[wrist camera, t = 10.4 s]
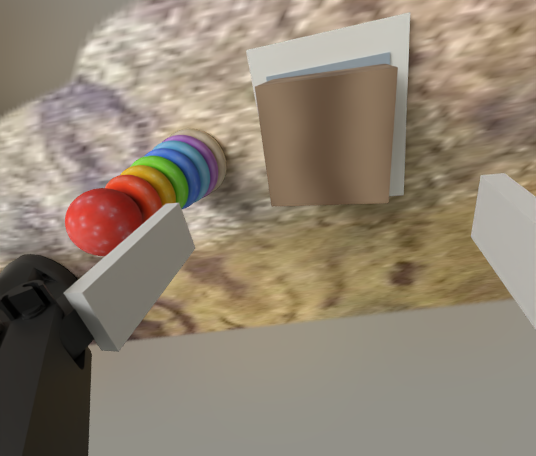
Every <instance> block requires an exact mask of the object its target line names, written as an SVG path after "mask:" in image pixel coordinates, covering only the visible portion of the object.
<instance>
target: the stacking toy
mask: <svg viewBox="0 0 536 456" xmlns="http://www.w3.org/2000/svg"><path fill="white" fill-rule="evenodd" d="M226 168H227V166H226V158H225V155H224V153H223V150H222V148H221V147H220V145H219V144H218V142H217V141H216V140H215V139H214V138H213V137H211V136H210V135H209V134H207V133H205V132H203V131H201V130H198V129H191V128H187V129H182V130H179V131H177V132H175V133H173V134H172V135H171V136H170V137H169V138H167V139H165V140H164V141H163V142H162V143H160V144H158V145H157V146H156V147H155V148H154V149H153V150H152V151H150V152H149V153H147V154H146V155H145V156H144V157H142V158H140V159H138V160H137V161H135V162H134V163H133V164H132V165H131V167H129V168H127V169H126V170H124V171H123V172H122V173H121V174H120V176H117V177H115V178H113V179H111V180H110V181H109V182H108V183H107V185H106V187H105V188H99V189H93V190H90V191H87V192H85V193H83V194H81V195H80V196H78V197H77V198H76V199H75V200H74V201H73V202H72V203H71V204H70V206H69V207H68V210H67V212H66V217H65V226H66V231H67V233H68V235H69V237H70V239H71V240H72V242H73V243H74V244H75V245H76V246H77V247H79V248H80V249H81V250H83V251H85V252H87V253H90V254H93V255H98V256H106V255H107V254H109V253H110V252H111V251H112V250H113V249H114V248H116V247H117V246H118V245H119V244H120V243H121V242H122V241H124V240H125V239H126V238H127V237H128V236H129V235H130V234H132V233H133V232H134V231H135V230H136V229H137V228H139V227H140V226H141V225H142V224H143V223H144V222H145V221H147V220H148V219H149V218H150V217H151V216H152V215H154V214H155V213H156V212H157V211H158V210H159V209H160V208H162V207H163V206H164V205H165V204H169V203H179V204H180V207H181V209H184V208H187V207H189V206H190V205H192V204H193V203H194V202H197V201H198V200H200V199H201V198H204V197H205V196H207V195H208V194H210V193H211V192H213V191H215V190H216V189H217V188H218V187H219V186H220V185H221V184H222V182H223V180H224V178H225V175H226Z"/></svg>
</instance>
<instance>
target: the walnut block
mask: <svg viewBox="0 0 536 456" xmlns="http://www.w3.org/2000/svg"><path fill="white" fill-rule="evenodd" d="M397 74H398V67H395V66H392V65H389V64H378V65H371V66H364V67H357V68H350V69H343V70H335V71H328V72H321V73H314V74H307V75H300V76H292V77H285V78H278V79H272V80H270V81H267V82H265V83H262V84H260V85H258V86H255V93H256V100H257V107H258V114H259V121H260V128H261V135H262V142H263V149H264V156H265V163H266V170H267V177H268V184H269V191H270V198H271V205H272V206H303V205H338V204H372V203H389V190H390V175H391V161H392V146H393V132H394V117H395V103H396V88H397Z"/></svg>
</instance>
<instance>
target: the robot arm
mask: <svg viewBox="0 0 536 456" xmlns="http://www.w3.org/2000/svg"><path fill="white" fill-rule="evenodd" d="M471 238H472V239H473V240H474V242H475V243H476V245H477V246H478V248H479V249H480V250H481V252H482V253H483V255H484V256H485V258H486V259H487V261H488V262H489V263H490V265H491V266H492V268H493V269H494V271H495V272H496V273H497V275H498V276H499V278H500V279H501V281H502V282H503V284H504V285H505V286H506V288H507V289H508V291H509V292H510V294H511V295H512V296H513V298H514V299H515V301H516V302H517V304H518V305H519V307H520V308H521V309H522V311H523V312H524V314H525V315H526V316H527V318H528V319H529V321H530V322H531V324H532V325H533V327H534V328H535V329H536V197H535V196H534V195H533V194H531V193H530V192H529V191H527V190H526V189H525V188H523V187H522V186H521V185H519V184H518V183H517V182H515V181H514V180H513V179H511V178H510V177H509V176H507V175H506V174H505V173H501V174H490V175H481V177H480V183H479V189H478V196H477V202H476V208H475V214H474V220H473V227H472V233H471ZM194 249H195V246H194V243H193V240H192V237H191V234H190V232H189V229H188V226H187V223H186V221H185V218H184V215H183V212H182V209H181V207H180V204H179V203H169V204H165V205H164V206H163V207H162V208H160V209H159V210H158V211H157V212H156V213H155V214H154V215H152V216H151V217H150V218H149V219H148V220H147V221H145V222H144V223H143V224H142V225H141V226H140V227H139V228H137V229H136V230H135V231H134V232H133V233H132V234H130V235H129V236H128V237H127V238H126V239H125V240H124V241H122V242H121V243H120V244H119V245H118V246H117V247H116V248H114V249H113V250H112V251H111V252H110V253H109V254H107V255H106V256H105V257H104V258H103V259H102V260H101V261H99V262H98V263H97V264H96V265H95V266H94V267H92V268H91V269H90V270H89V271H88V272H87V273H86V274H84V275H83V276H82V277H81V278H80V279H79V280H77V279H76V278H75V277H74V276H73V275H72V274H71V273H70V272H69V271H68V270H66V269H65V268H64V267H62V266H61V265H59V264H58V263H56V262H54V261H52V260H50V259H48V258H45V257H42V256H38V255H31V254H28V255H23V256H20V257H19V258H17V259H16V260H14V261H12V262H11V263H9V264H8V265H7V266H6V267H5V268H4V269H3V271H2V272H1V273H0V456H88V443H89V442H88V441H89V416H90V387H91V386H90V385H91V359H92V358H91V357H92V354H91V351H90V349H89V348H88V345H89V344H90V343H91V342H92V340H93V339H94V340H95V341H96V343H97V344H98V346H99V347H100V349H101V350H104V351H119V350H120V349H121V347H122V346H123V345H124V344H125V342H126V341H127V340H128V338H129V337H130V336H131V334H132V333H133V332H134V330H135V329H136V328H137V326H138V325H139V323H140V322H141V321H142V319H143V318H144V317H145V315H146V314H147V313H148V311H149V310H150V309H151V307H152V306H153V305H154V303H155V302H156V301H157V299H158V298H159V297H160V295H161V294H162V293H163V291H164V290H165V288H166V287H167V286H168V284H169V283H170V282H171V280H172V279H173V278H174V276H175V275H176V274H177V272H178V271H179V270H180V268H181V267H182V266H183V264H184V263H185V262H186V260H187V259H188V258H189V256H190V255H191V254H192V252H193V251H194Z"/></svg>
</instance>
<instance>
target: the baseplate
mask: <svg viewBox="0 0 536 456" xmlns="http://www.w3.org/2000/svg"><path fill="white" fill-rule="evenodd" d="M409 33H410V12H409V13H405V14H401V15H396V16H392V17H388V18H383V19H379V20H375V21H370V22H366V23H362V24H358V25H353V26H349V27H345V28H340V29H336V30H332V31H327V32H323V33H319V34H314V35H310V36H306V37H301V38H297V39H293V40H288V41H284V42H280V43H275V44H271V45H267V46H262V47H258V48H254V49H249V50H246V52H247V58H248V63H249V68H250V74H251V79H252V84H253V89H254V95H255V100H256V93H255V86H258V85H260V84H262V83H265V82H267V81H270V80H272V79H278V78H285V77H292V76H300V75H307V74H314V73H321V72H328V71H335V70H343V69H350V68H357V67H364V66H371V65H378V64H389V65H392V66H395V67H398V74H397V88H396V103H395V117H394V132H393V146H392V161H391V175H390V190H389V196H399V195H404V172H405V144H406V116H407V89H408V61H409ZM256 105H257V100H256ZM257 111H258V107H257ZM258 116H259V114H258Z"/></svg>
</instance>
